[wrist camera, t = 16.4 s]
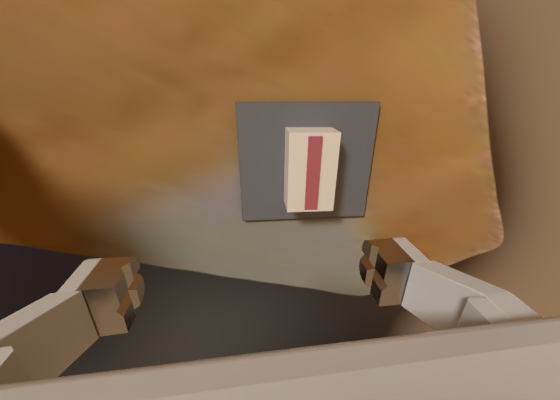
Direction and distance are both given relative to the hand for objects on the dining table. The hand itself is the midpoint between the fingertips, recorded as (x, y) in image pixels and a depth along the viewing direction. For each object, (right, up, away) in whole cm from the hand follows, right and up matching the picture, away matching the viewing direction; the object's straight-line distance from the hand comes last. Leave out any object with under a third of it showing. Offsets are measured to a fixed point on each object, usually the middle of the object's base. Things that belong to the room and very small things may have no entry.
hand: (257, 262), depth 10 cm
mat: (+4, +7, +27) cm, 28 cm away
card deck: (+4, +7, +26) cm, 28 cm away
